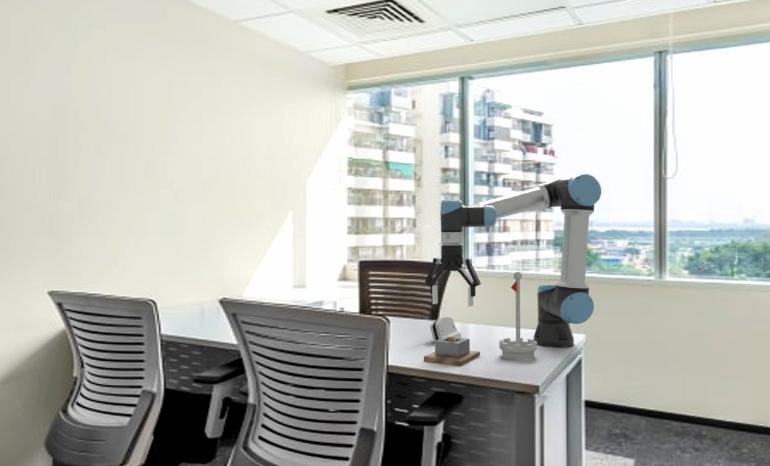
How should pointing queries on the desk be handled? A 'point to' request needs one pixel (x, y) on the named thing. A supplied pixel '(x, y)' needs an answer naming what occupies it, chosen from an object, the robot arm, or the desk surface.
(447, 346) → the grey hollow square block
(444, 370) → the desk surface
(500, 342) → the flag stand
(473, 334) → the desk surface
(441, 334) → the hinge
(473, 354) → the wooden peg stand
